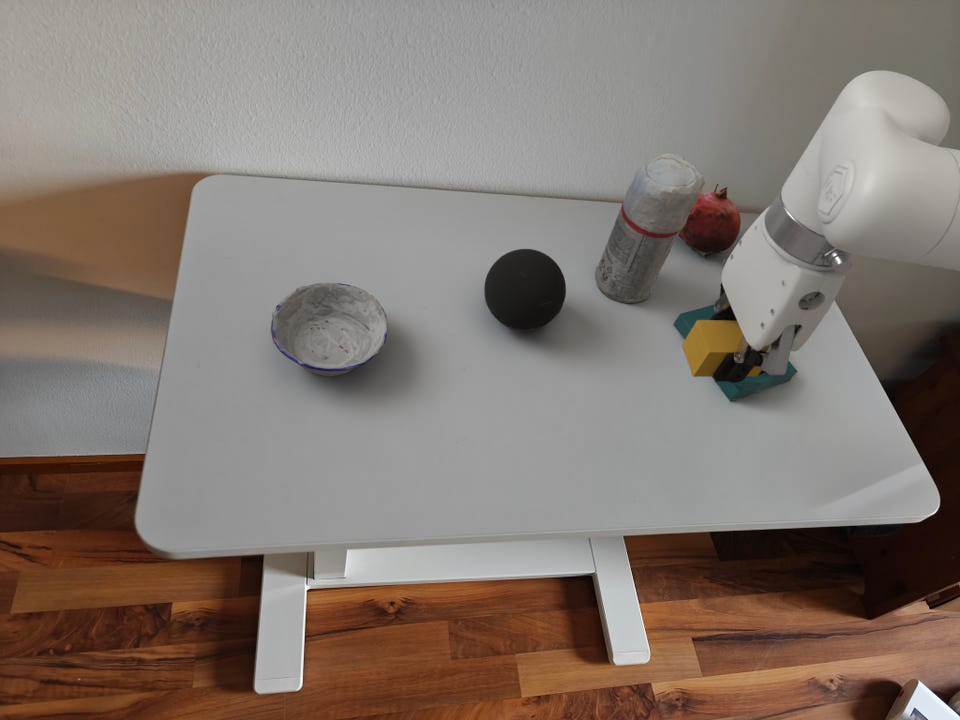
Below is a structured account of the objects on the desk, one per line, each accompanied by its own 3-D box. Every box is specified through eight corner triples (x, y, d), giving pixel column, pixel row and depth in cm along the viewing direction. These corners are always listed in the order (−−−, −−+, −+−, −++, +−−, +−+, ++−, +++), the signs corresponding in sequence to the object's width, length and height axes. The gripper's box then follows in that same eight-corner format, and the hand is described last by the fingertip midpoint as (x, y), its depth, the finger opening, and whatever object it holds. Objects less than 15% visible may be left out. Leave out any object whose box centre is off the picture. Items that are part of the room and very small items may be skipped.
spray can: (643, 315, 97) (703, 199, 81) (585, 292, 98) (634, 173, 82) (656, 275, 102) (715, 159, 87) (601, 254, 103) (650, 135, 87)
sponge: (743, 345, 76) (761, 320, 73) (756, 376, 73) (776, 352, 70) (681, 344, 74) (697, 319, 71) (693, 376, 72) (709, 352, 69)
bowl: (276, 399, 80) (273, 373, 76) (270, 311, 87) (268, 283, 84) (393, 389, 83) (396, 364, 80) (378, 305, 91) (380, 278, 87)
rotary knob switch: (793, 385, 94) (809, 367, 91) (731, 406, 90) (746, 388, 87) (730, 308, 101) (743, 288, 98) (671, 324, 97) (683, 305, 94)
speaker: (499, 276, 97) (514, 220, 89) (566, 309, 96) (587, 255, 88) (464, 323, 91) (477, 267, 83) (535, 359, 90) (555, 306, 82)
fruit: (705, 274, 104) (735, 222, 96) (654, 236, 107) (679, 182, 100) (739, 249, 109) (770, 197, 101) (689, 212, 112) (716, 160, 104)
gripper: (900, 304, 55) (782, 430, 70) (814, 162, 65) (727, 298, 79) (812, 302, 54) (710, 431, 68) (738, 157, 64) (663, 297, 78)
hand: (720, 358), depth 74 cm, fingers closed on sponge, 4 cm apart
